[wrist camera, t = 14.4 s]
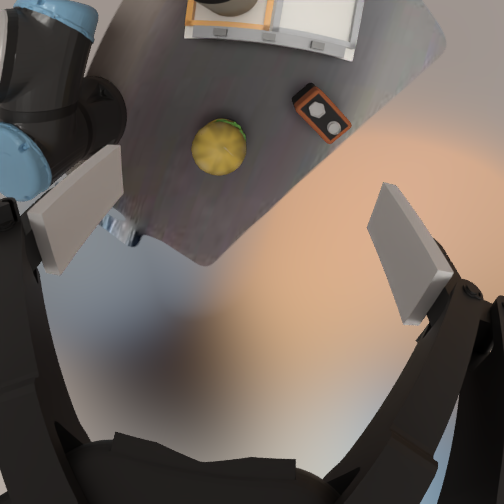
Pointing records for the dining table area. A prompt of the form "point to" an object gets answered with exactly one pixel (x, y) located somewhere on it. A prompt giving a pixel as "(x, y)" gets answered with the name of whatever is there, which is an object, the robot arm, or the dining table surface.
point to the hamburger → (219, 147)
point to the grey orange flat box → (284, 25)
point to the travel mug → (228, 6)
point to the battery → (320, 113)
